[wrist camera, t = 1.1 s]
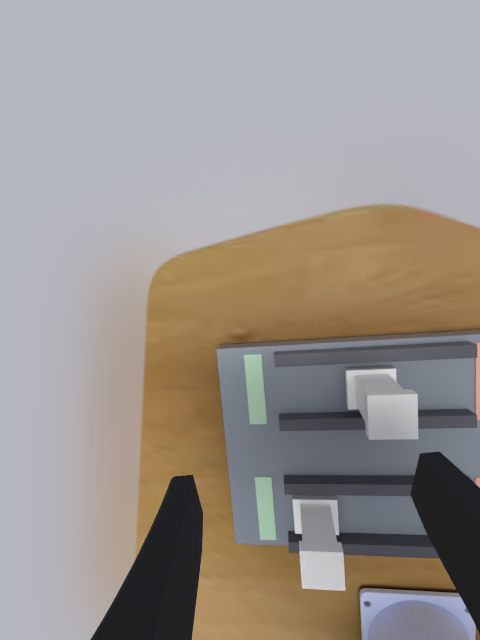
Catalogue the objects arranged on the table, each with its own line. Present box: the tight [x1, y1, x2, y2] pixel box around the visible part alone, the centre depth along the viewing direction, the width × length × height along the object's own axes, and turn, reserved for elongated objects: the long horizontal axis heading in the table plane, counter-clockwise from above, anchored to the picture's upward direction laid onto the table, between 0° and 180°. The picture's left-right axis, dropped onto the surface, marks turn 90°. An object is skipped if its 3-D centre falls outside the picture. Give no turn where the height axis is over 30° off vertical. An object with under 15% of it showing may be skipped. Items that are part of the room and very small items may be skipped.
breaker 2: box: [345, 366, 418, 440], centre depth 19 cm, size 3×3×5 cm
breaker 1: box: [292, 495, 345, 591], centre depth 20 cm, size 3×3×5 cm
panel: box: [216, 329, 480, 558], centre depth 22 cm, size 15×18×2 cm
